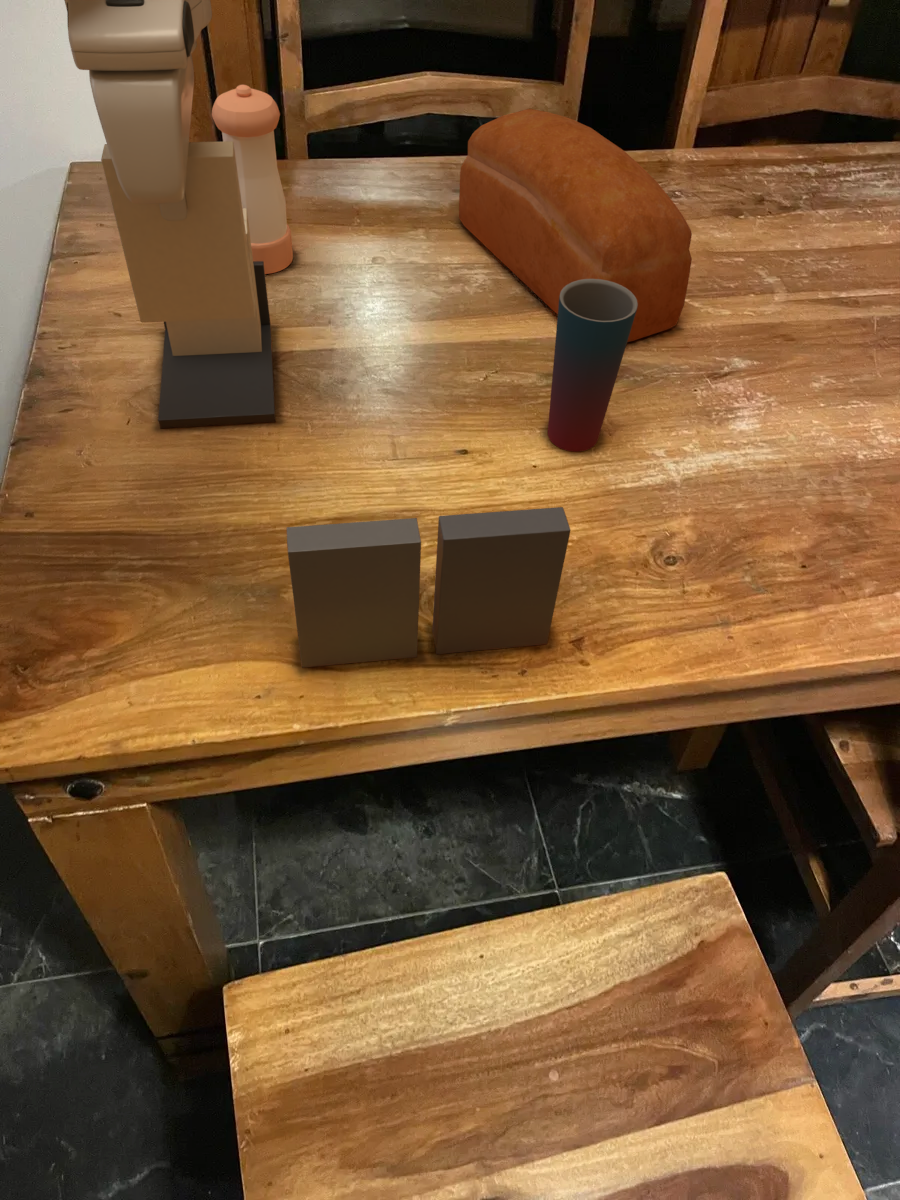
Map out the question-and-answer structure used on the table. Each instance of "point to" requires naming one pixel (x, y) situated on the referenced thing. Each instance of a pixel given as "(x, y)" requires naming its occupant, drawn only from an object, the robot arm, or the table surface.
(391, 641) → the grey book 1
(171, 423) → the book rack
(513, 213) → the bread
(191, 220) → the brown flat block
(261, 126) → the pepper shaker
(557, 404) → the cup
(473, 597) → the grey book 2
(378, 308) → the table surface
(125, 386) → the table surface
